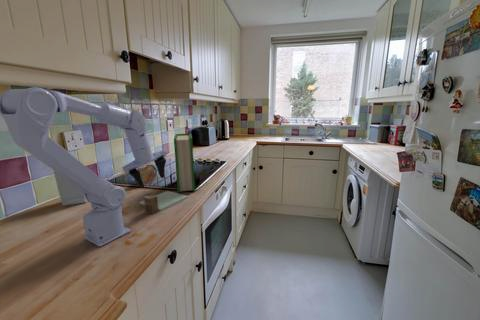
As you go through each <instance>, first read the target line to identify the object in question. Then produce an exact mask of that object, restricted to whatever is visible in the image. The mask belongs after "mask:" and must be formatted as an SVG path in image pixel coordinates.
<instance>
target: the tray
mask: <svg viewBox="0 0 480 320" xmlns="http://www.w3.org/2000/svg"><path fill="white" fill-rule="evenodd" d="M155 196H157V200H158V210H159V212H161V211H163V210H166V209H168V208H169V207H172V206H174V205H176V204H178V203H180V202H182V201H184V200H187V199H188V197H189V196H188V195H185V194H181V193H178V192H174V191H171V190H170V191H169V190H167V191H164V192H161V193H159V194H156V195H155ZM139 205H141V206H144V207H145V202H144V199H143V200H142V201H139Z"/></svg>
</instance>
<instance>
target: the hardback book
mask: <svg viewBox="0 0 480 320" xmlns="http://www.w3.org/2000/svg"><path fill="white" fill-rule="evenodd" d="M173 145H174V147H173V148H174V160H175V174H176V183H177V184H176V185H177V186H176V187H177V193H178V194H181V192H188V191H190V192H191V191H192V192H193V193H196V184H195V164H194V163H195V162H194V149H193V148H194V147H193V136H192V133H176V134H175V135H174V138H173Z"/></svg>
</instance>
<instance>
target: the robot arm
mask: <svg viewBox="0 0 480 320" xmlns="http://www.w3.org/2000/svg"><path fill="white" fill-rule="evenodd" d="M63 112H70V113H73V114H79V115H84V116H89V117H94V118H95V119H96V121H97V122H98V123H99V124H104V125H109V126H113V127H117V128H120V129H121V130H123V131H124V134H125V136H126V139H127V141H128V145H129V147H130V150H131V153H132V155H133V158H134V160H132V161H131V162H129V163H127V164H125V165H123V166H122V170H123V173H124V174H129V175H130V176H132V178H133V179H134V181H135V180H136V181H137V182H138V184H139V185H138V186H139V187H140V188H142V189H144V188H145V186H144V184H143V182H142V180H141V176H140V172H138V169H140V168H142V167H144V166H146V165H149V164H150V163H152V162H154V164H155V167H156V168H157V169H156V170H157V171H158V175H159V177H160V178H162V179H164V178H165V166H166V163H167V160H166V157H167V153H166V151H164V149H163V150H159V151H156V152H152V149H151V145H150V143H149V138H148V137H147V132H146V131H147V130H146V124H147V119H146V117H145V116H144V115H143V114H142V113H141V112H140V111H138V110H129V108H128V107H126V106H123V107H122V106H121V107H120V106H118V105H114V102H113V101H103V102H100V103H99V104H96V103H92V102H90V101H86V100H83V99H81V98H78V97H75V96H72V95H69V94H65V93H62V92H60V91H57V90H50V89H49V90H47V89H45V88H42V87H29V88H28V87H27V88H12V89H7V90H5V91H3V92H2V93H1V94H0V116H1V117H2V119H4V122H5V124H6V126H7V129H8V132H9V133H10V136H11V138H12V140H13V143H15V144H16V146H18V147H19V148H21V149H22V150H24V151H25V152H27V153H28V154H30V155H31V156H32V157H34V159H35V158H36V159H37V160H38V161H40V162H41V163H42V164H44V165H45V166H46V167H49V169H51V170H52V171H53V172H54V171H55V172H57V173H58V174H60V175H61V176H63V177H64V178H66V179H67V180H68V181H70V182H71V183H73V184H74V185H76V186H77V187H78V188H80V192H82V193H83V194H84V196H85V198H86V200H87V202H88V203H90V205H91V208H92V209H91V210H90V211H88V212H87V213H84V214H83V216H82V223H83V227H84V234H85V237H84V238H85V240H87V241H89V242H90V243H92V244H94V245H96V246H97V247H102V246H104V245H106V244H108V243H110V242H112V241H114V240H117V239H118V238H120V237H122V236H124V235H126V234H128V233H131V231H132V230H131V229H130V228H128V227H126V226H125V223H124V216H123V209H122V208H123V207H122V206H123V203H124V202H125V200H126V191H125V189H124V188H123V187H122V186H119V185H114V184H113V183H112V182H110V181H108V180H105V179H104V178H102V177H100V176H99V175H98V174H96V173H95V172H94V171H93V170H91V169H90V168H89V167H88V166H86V165H85V164H84V163H83V162H81V161H80V160H79V159H78V158H77V157H75V156H74V155H72V154H71V153H70V152H69V151H68V150H66V149H65V148H64V147H63V146H62V145H60V144H59V143H58V142H56V141H55V139H53V138H51V137H50V136H49V135H50V134H49V133H50V127H51V124H52V122H53V120H54V118H55V117H56V116H55V115H57V113H63Z"/></svg>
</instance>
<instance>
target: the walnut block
mask: <svg viewBox="0 0 480 320" xmlns="http://www.w3.org/2000/svg"><path fill="white" fill-rule="evenodd" d="M143 200H144V202H145V206H144V209H145V210H144V211H145V213H148V214H149V215H155V214H157V213H159V212H160V211H159V210H158V200H157V196H156V195H154V194H151V193H149V194H147V195H146V194H145V195H143Z"/></svg>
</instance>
